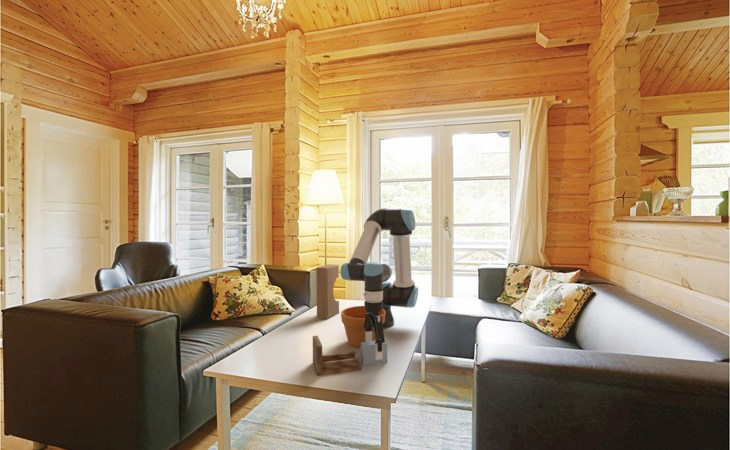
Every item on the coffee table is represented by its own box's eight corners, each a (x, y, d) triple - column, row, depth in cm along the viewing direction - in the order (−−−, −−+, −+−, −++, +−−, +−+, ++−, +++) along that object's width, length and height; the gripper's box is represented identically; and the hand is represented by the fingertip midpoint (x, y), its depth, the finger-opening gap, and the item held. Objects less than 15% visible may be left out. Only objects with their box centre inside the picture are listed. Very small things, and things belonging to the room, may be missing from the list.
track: (353, 357, 143) (353, 331, 142) (361, 369, 131) (360, 341, 131) (312, 362, 138) (312, 335, 138) (317, 375, 126) (316, 346, 126)
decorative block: (327, 319, 198) (327, 268, 197) (316, 318, 201) (316, 267, 200) (339, 312, 212) (339, 264, 211) (328, 311, 215) (328, 264, 214)
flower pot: (377, 353, 147) (377, 319, 147) (333, 347, 154) (333, 315, 154) (391, 337, 167) (390, 307, 167) (351, 333, 174) (351, 304, 174)
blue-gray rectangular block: (383, 358, 142) (383, 339, 142) (387, 362, 138) (387, 343, 138) (360, 361, 139) (360, 342, 139) (363, 365, 135) (363, 345, 135)
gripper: (356, 295, 149) (356, 343, 149) (374, 308, 125) (374, 366, 125) (373, 294, 151) (373, 341, 151) (393, 307, 127) (393, 363, 127)
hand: (373, 352), depth 138 cm, fingers open, 13 cm apart
